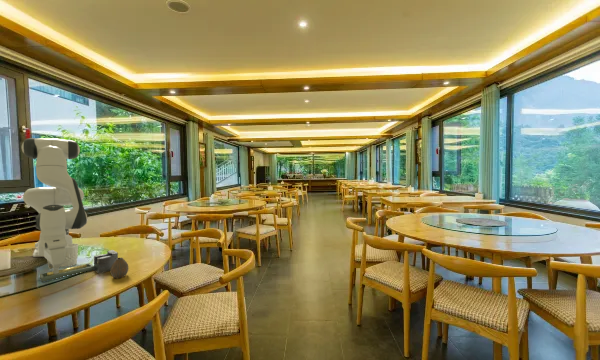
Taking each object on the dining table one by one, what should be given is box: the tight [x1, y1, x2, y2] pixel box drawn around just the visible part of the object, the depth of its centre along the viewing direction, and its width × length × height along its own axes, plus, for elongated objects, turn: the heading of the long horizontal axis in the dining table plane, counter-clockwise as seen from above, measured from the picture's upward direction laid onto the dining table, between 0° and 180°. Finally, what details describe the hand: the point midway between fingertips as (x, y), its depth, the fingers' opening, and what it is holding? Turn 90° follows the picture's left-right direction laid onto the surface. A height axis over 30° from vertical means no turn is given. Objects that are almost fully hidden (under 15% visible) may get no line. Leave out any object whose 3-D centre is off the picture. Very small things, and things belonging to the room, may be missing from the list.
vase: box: [110, 257, 129, 279], centre depth 122 cm, size 7×7×9 cm
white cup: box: [60, 243, 79, 268], centre depth 136 cm, size 8×8×10 cm
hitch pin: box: [47, 263, 87, 276], centre depth 124 cm, size 14×2×2 cm, turn 143°
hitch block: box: [93, 249, 119, 274], centre depth 131 cm, size 7×8×8 cm
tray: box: [38, 262, 95, 283], centre depth 124 cm, size 7×18×2 cm, turn 143°
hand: (53, 270), depth 120 cm, fingers open, 8 cm apart
